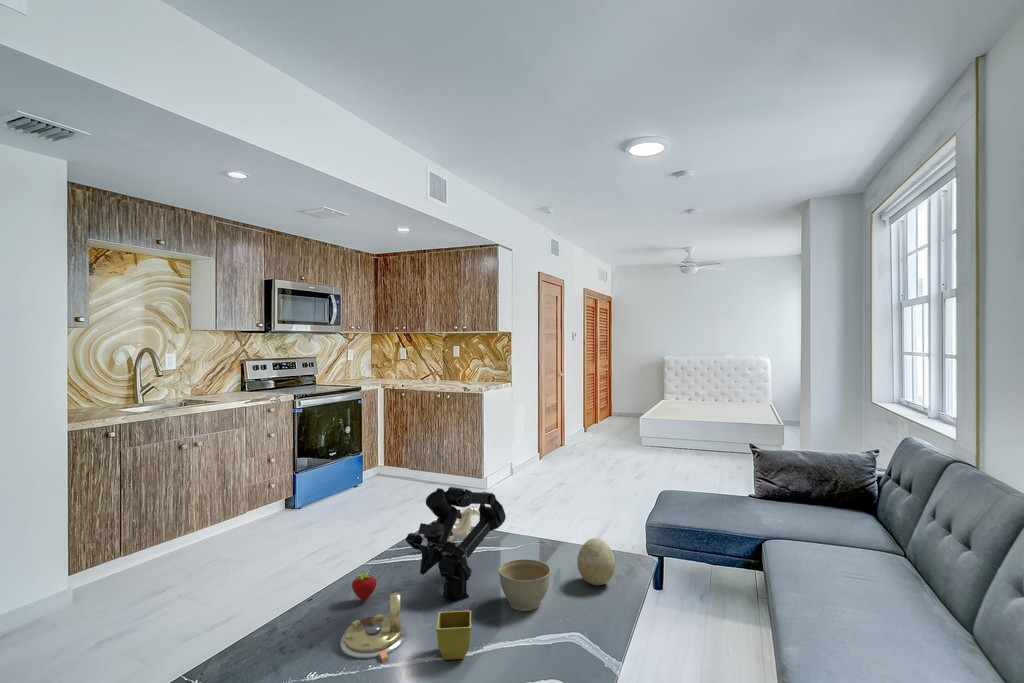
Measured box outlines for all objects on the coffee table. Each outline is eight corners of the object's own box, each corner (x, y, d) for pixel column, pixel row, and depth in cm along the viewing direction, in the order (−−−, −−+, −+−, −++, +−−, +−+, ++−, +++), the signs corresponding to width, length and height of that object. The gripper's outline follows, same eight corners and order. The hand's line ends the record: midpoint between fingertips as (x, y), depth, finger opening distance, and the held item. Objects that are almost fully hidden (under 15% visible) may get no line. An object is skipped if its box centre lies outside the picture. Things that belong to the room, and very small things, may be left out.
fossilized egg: (573, 588, 167) (572, 542, 168) (582, 572, 179) (582, 530, 179) (611, 595, 163) (611, 548, 163) (618, 578, 174) (618, 534, 175)
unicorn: (433, 553, 197) (433, 509, 197) (431, 549, 201) (431, 506, 201) (482, 546, 204) (482, 503, 204) (479, 542, 208) (479, 500, 208)
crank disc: (336, 653, 130) (336, 609, 130) (354, 622, 145) (354, 582, 145) (394, 652, 130) (394, 609, 130) (406, 621, 145) (406, 582, 145)
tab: (378, 656, 130) (378, 652, 130) (384, 654, 131) (385, 650, 131) (382, 662, 128) (382, 658, 128) (388, 660, 128) (388, 656, 129)
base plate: (390, 617, 150) (390, 605, 150) (415, 644, 136) (415, 630, 136) (332, 636, 140) (332, 623, 140) (352, 667, 126) (352, 653, 126)
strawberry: (376, 604, 157) (376, 572, 157) (350, 607, 155) (350, 574, 155) (377, 595, 163) (377, 564, 163) (352, 598, 161) (352, 566, 161)
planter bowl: (558, 597, 161) (558, 563, 161) (539, 622, 146) (539, 584, 146) (512, 588, 168) (512, 555, 168) (490, 610, 153) (489, 574, 153)
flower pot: (438, 645, 135) (438, 611, 135) (471, 643, 136) (471, 609, 136) (436, 665, 126) (436, 629, 127) (471, 663, 127) (471, 627, 127)
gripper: (409, 506, 157) (383, 554, 147) (458, 516, 148) (434, 568, 138) (425, 524, 164) (402, 571, 154) (473, 534, 155) (451, 585, 145)
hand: (421, 573), depth 148 cm, fingers closed
